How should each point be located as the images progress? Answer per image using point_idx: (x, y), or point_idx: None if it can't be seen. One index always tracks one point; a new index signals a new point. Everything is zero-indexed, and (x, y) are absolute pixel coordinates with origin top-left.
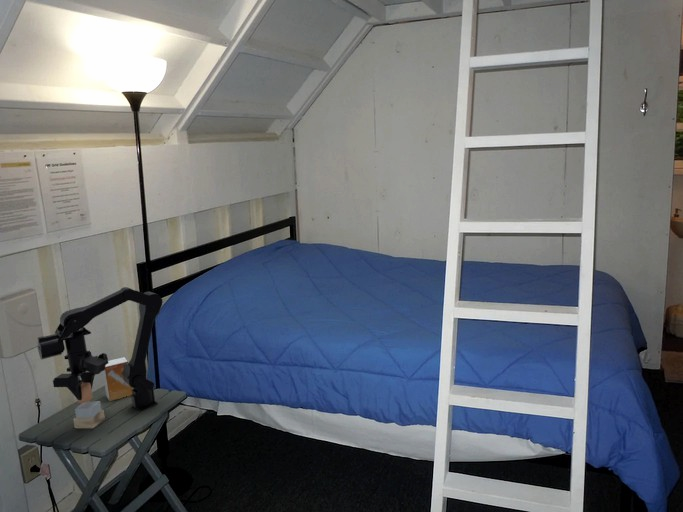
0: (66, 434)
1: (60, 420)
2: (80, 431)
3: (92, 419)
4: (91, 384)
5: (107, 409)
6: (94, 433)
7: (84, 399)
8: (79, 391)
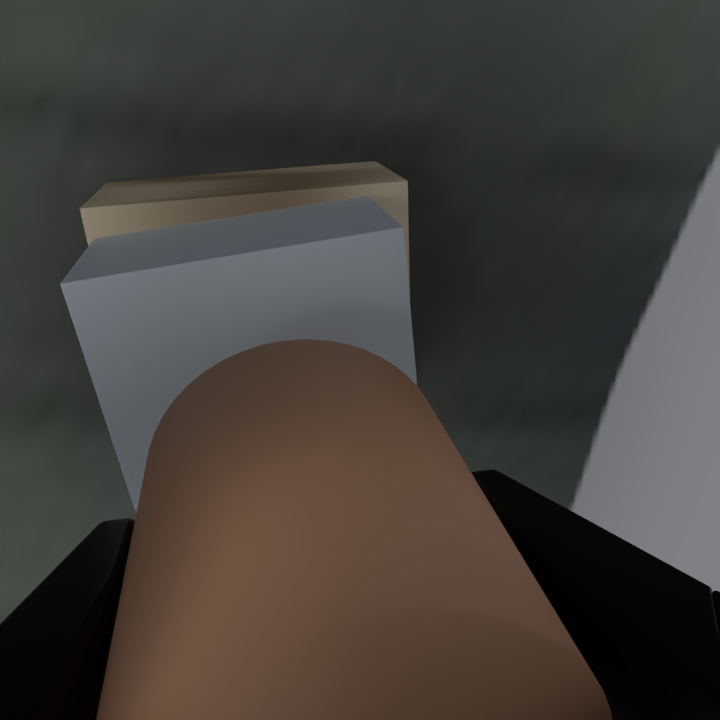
0: (513, 375)
1: None
2: (454, 269)
3: (387, 180)
4: (20, 684)
5: None
6: (508, 38)
7: (438, 425)
8: (698, 593)
